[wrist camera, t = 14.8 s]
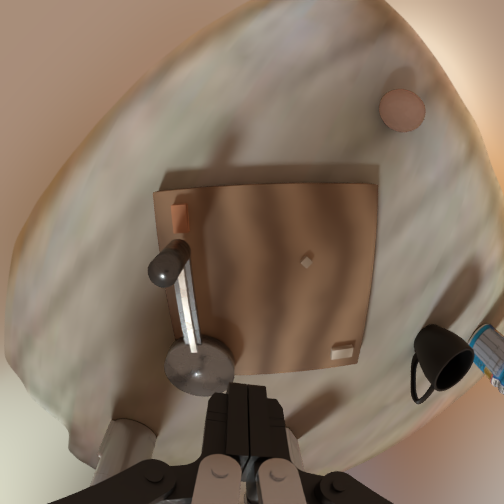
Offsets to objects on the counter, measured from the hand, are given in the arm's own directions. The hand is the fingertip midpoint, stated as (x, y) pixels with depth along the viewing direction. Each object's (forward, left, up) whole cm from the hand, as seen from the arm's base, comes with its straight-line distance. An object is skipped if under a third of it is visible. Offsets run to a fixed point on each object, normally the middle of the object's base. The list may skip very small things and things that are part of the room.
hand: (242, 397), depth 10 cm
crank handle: (-7, -9, -21) cm, 23 cm away
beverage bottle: (+47, -22, -23) cm, 56 cm away
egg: (+19, +16, -23) cm, 34 cm away
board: (+3, -5, -23) cm, 24 cm away
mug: (+29, -19, -23) cm, 41 cm away
